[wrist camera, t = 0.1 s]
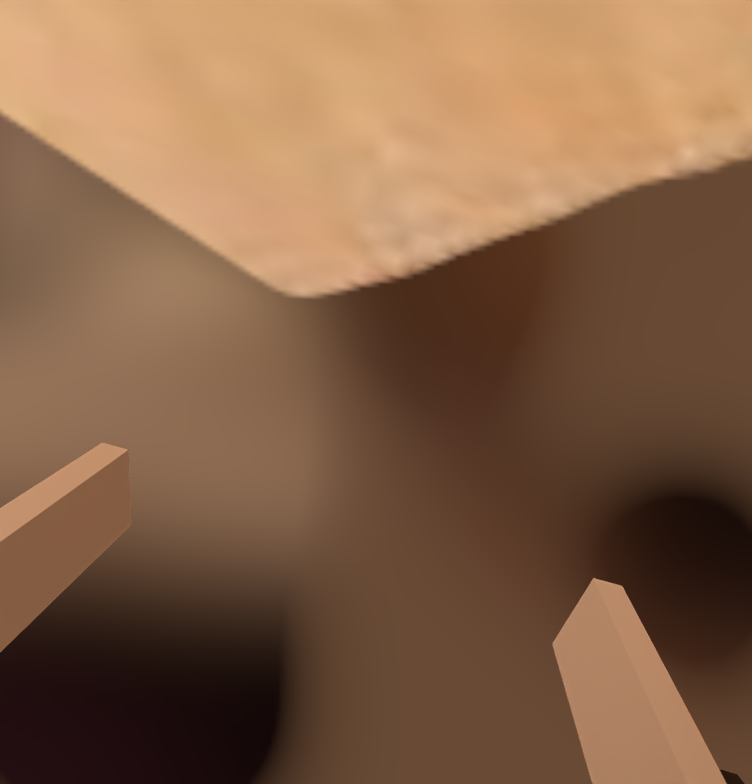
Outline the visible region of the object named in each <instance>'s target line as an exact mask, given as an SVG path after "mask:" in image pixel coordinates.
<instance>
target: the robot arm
mask: <svg viewBox="0 0 752 784" xmlns="http://www.w3.org/2000/svg"><path fill="white" fill-rule="evenodd" d="M130 525H131V507H130V480H129V458H128V450H127V449H123V448H119V447H115V446H112V445H108V444H104V443H101V444H100V445H98V446H97V447H95V448H94V449H92V450H90V451H89V452H87V453H86V454H84V455H83V456H81V457H80V458H78V459H76V460H75V461H73V462H72V463H70V464H69V465H67V466H65V467H64V468H62V469H61V470H59V471H58V472H56V473H55V474H53V475H51V476H50V477H48V478H47V479H46V480H44V481H42V482H41V483H39V484H38V485H36V486H34V487H33V488H31V489H30V490H28V491H27V492H25V493H23V494H22V495H20V496H19V497H17V498H16V499H14V500H12V501H11V502H9V503H8V504H6V505H5V506H3V507H2V508H0V652H1V651H2V650H3V649H4V648H5V647H6V646H7V645H8V644H9V643H10V642H11V641H12V640H13V639H14V638H15V637H16V636H17V635H18V634H19V633H20V632H21V631H22V630H24V629H25V628H26V627H27V626H28V625H29V624H30V623H31V622H32V621H33V620H34V619H35V618H36V617H37V616H38V615H39V614H40V613H41V612H42V611H43V610H44V609H45V608H46V607H47V606H48V605H49V604H50V603H51V602H52V601H53V600H54V599H55V598H56V597H57V596H58V595H60V593H62V592H63V591H64V590H65V589H66V588H67V587H68V586H69V585H70V584H71V583H72V582H73V581H74V580H75V579H76V578H77V577H78V576H79V575H80V574H81V573H82V572H83V571H84V570H85V569H86V568H87V567H88V566H89V565H90V564H91V563H92V562H93V561H94V560H95V559H96V558H98V557H99V556H100V554H102V553H103V552H104V551H105V550H106V549H107V548H108V547H109V546H110V545H111V544H112V543H113V542H114V541H115V540H116V539H117V538H118V537H119V536H120V535H121V534H122V533H123V532H124V531H125V530H126V529H127V528H128V527H129V526H130ZM552 645H553V648H554V652H555V655H556V659H557V662H558V666H559V669H560V673H561V676H562V680H563V683H564V687H565V690H566V694H567V697H568V701H569V704H570V708H571V711H572V715H573V718H574V721H575V725H576V728H577V732H578V736H579V739H580V742H581V746H582V749H583V753H584V756H585V760H586V763H587V767H588V770H589V774H590V777H591V781H592V784H744V783H743V781H742V780H741V779H740V778H739V776H738V775H737V774H734V773H730V772H727V771H724V770H720V769H719V768H718V766H717V765H716V763H715V761H714V759H713V757H712V755H711V753H710V751H709V749H708V747H707V746H706V744H705V742H704V740H703V738H702V736H701V734H700V732H699V730H698V728H697V727H696V725H695V723H694V721H693V719H692V718H691V715H690V713H689V712H688V710H687V708H686V706H685V704H684V702H683V701H682V699H681V696H680V695H679V693H678V691H677V689H676V687H675V685H674V683H673V681H672V680H671V678H670V676H669V674H668V672H667V670H666V668H665V666H664V664H663V662H662V661H661V659H660V657H659V655H658V653H657V651H656V649H655V647H654V645H653V643H652V642H651V640H650V638H649V636H648V634H647V632H646V630H645V628H644V626H643V625H642V623H641V621H640V619H639V617H638V615H637V613H636V611H635V610H634V608H633V606H632V604H631V602H630V600H629V598H628V596H627V594H626V592H625V591H624V589H623V587H622V586H620V585H616V584H613V583H609V582H606V581H602V580H598V579H595V578H594V579H593V580H592V582H591V583H590V585H589V586H588V588H587V589H586V591H585V593H584V594H583V596H582V598H581V599H580V601H579V602H578V604H577V605H576V607H575V609H574V610H573V612H572V613H571V615H570V616H569V618H568V620H567V621H566V623H565V624H564V626H563V628H562V629H561V631H560V632H559V634H558V636H557V637H556V639H555V640H554V642H553V644H552Z"/></svg>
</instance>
